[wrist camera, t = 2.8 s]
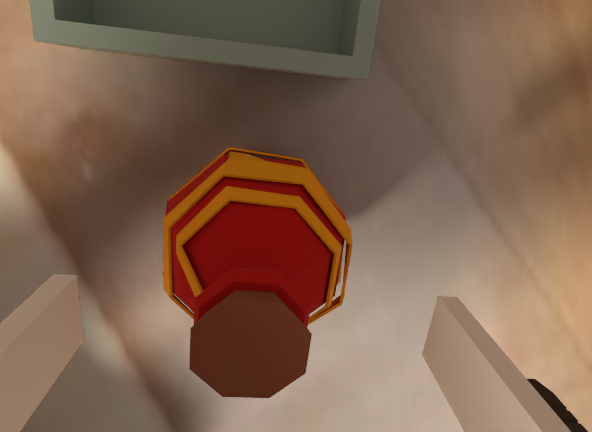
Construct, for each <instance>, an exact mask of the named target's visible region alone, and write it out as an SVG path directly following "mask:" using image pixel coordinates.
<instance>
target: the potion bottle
mask: <svg viewBox="0 0 592 432" xmlns="http://www.w3.org/2000/svg"><path fill="white" fill-rule="evenodd" d="M249 154H252V155H259V156H266V157H272V158H279V159H270V158H260V157H254V156H252V155H249ZM280 159H286V160H280ZM289 160H293V161H289ZM344 240H346V242H347V244H346V255H345V266H344V278H343V286H342V292H341V295H340V296H339V297H337V298H336V299H335V300H333V301H332V298H333V297H334V296H335V291H336V285H337V284H338V283H339V282H340V277H341V264H342V251H343V245H344ZM351 250H352V238H351V229H350V227H349V226H348V224H347V223H346V222H345V215H344V213H343V212H342V211H341V209H340V208H339V207H338V205H337V204H336V203H335V201H334V200H333V199H332V197H331V196H330V195H329V193H328V192H327V191H326V189H325V188H324V187H323V185H322V184H321V183H320V181H319V180H318V179H317V177H316V176H315V175H314V173H313V172H312V171H311V169H310V168H309V167H308V165H307V164H306V163H305V161H304V160H303V159H300V158H294V157H288V156H282V155H276V154H270V153H264V152H258V151H252V150H246V149H239V148H233V147H228V148H227V149H226V150H225V151H224V152H222V153H221V154H220V155H219V156H218V157H217V158H215V159H214V160H213V161H212V162H211V163H210V164H208V165H207V166H206V167H205V168H204V169H203V170H201V171H200V172H199V173H198V174H197V175H195V176H194V177H193V178H192V179H191V180H190V181H188V182H187V183H186V184H185V185H184V186H183V187H181V188H180V189H179V190H178V191H177V192H176V193H174V194H173V195H172V196H171V197H170V198H169V201H168V202H167V208H166V215H165V217H164V218H163V258H164V269H163V276H164V290H165V291H166V293H167V294H168V296H169V297H170V298H171V299H172V300H173V301H174V302H175V303H176V304H177V305H178V306H180V307H181V308H182V309H183V310H184V311H185V312H186V313H187V314H189V315H190V316H191V317H192V318H193V319H194V326H193V327H192V328H191V338H190V370H191V371H192V372H194V373H195V374H196V375H197V376H198V377H200V378H201V379H202V380H203V381H204V382H206V383H207V384H208V385H209V386H210V387H212V388H213V389H214V390H215V391H216V392H218V393H219V394H220V395H221V396H222V397H252V398H270V397H271V396H273V395H274V394H276V393H277V392H279V391H280V390H282V389H283V388H284V387H286V386H287V385H289V384H290V383H292V382H293V381H295V380H296V379H298V378H299V377H301V376H302V375H304V374H305V373H306V366H307V360H308V354H309V348H310V341H311V335H312V334H311V333H310V332H309V330H308V329H307V326H308V324H310V323H311V322H313V321H315V320H316V319H318V318H320V317H321V316H323V315H325V314H327V313H328V312H330V311H332V310H333V309H335V308H337V307H338V306H340V305H342V302H343V298H344V294H345V284H346V278H347V273H348V267H349V262H350V256H351ZM172 292H173V293H174V294H175V295H176V296H177V297H178V298H179V299H180V300H181V301H183V302H184V303H185V304H186V305H187V306H188V307H189V308H190V309H191V310H192V312H193V313H194V314H193V313H192V312H191V311H190V310H189V309H188V308H187V307H186V306H185V305H184V304H183V303H182V302H181V301H180V300H179V299H178V298H177V297H176V296H175V295H174V294H173V293H172ZM325 302H326V304H325V307H323V308H322V309H320V310H319V311H318V312H316V313H315V314H313V315H312V316H311V317H309V314H310V313H311V312H313V311H314V310H316V309H317V308H318V307H320V306H321V305H323V304H324V303H325Z"/></svg>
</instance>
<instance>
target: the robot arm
mask: <svg viewBox="0 0 592 432" xmlns="http://www.w3.org/2000/svg"><path fill="white" fill-rule="evenodd" d="M83 341H84V336H83V327H82V318H81V308H80V299H79V290H78V280H77V275H63V274H53V275H52V276H51V277H50V278H49V279H48V280H47V281H45V282H44V283H43V284H42V285H41V286H40V287H39V288H38V289H37V290H36V291H35V292H34V293H32V294H31V295H30V296H29V297H28V298H27V299H26V300H25V301H24V302H23V303H22V304H20V305H19V306H18V307H17V308H16V309H15V310H14V311H13V312H12V313H11V314H10V315H9V316H7V317H6V318H5V319H4V320H3V321H2V322H1V323H0V432H20V431H21V430H22V428H23V427H24V426H25V424H26V423H27V421H28V420H29V418H30V417H31V416H32V414H33V413H34V411H35V410H36V408H37V407H38V405H39V404H40V403H41V401H42V400H43V398H44V397H45V395H46V394H47V393H48V391H49V390H50V388H51V387H52V385H53V384H54V383H55V381H56V380H57V378H58V377H59V375H60V374H61V373H62V371H63V370H64V368H65V367H66V365H67V364H68V363H69V361H70V360H71V358H72V357H73V355H74V354H75V353H76V351H77V350H78V348H79V347H80V345H81V344H82V343H83ZM422 355H423V357H424V359H425V361H426V362H427V364H428V366H429V368H430V370H431V371H432V373H433V375H434V377H435V379H436V381H437V382H438V384H439V386H440V388H441V390H442V392H443V393H444V395H445V397H446V399H447V401H448V402H449V404H450V406H451V408H452V410H453V412H454V413H455V415H456V417H457V419H458V421H459V423H460V424H461V426H462V428H463V430H464V432H588V431H587V430H586V429H585V428H584V427H583V426H582V425H581V424H579V423H578V420H577V419H576V418H575V417H574V416H573V415H572V413H571V412H570V411H567V409H566V407H565V406H564V405H563V403H562V402H561V401H560V400H559V399H558V398H557V397H556V396H555V394H554V393H553V392H551V391H550V390H549V389H547V388H546V387H545V386H543V385H542V384H541V383H539V382H538V381H537V380H535V379H526V378H525V377H524V375H523V374H522V373H521V372H520V371H519V370H518V368H517V367H516V366H515V365H514V364H513V362H512V361H511V360H510V359H509V358H508V357H507V355H506V354H505V353H504V352H503V351H502V349H501V348H500V347H499V346H498V345H497V344H496V342H495V341H494V340H493V339H492V338H491V337H490V335H489V334H488V333H487V332H486V331H485V329H484V328H483V327H482V326H481V325H480V324H479V322H478V321H477V320H476V319H475V318H474V316H473V315H472V314H471V313H470V312H469V311H468V309H467V308H466V307H465V306H464V305H463V303H462V302H461V301H460V300H459V299H458V298H457V297H445V296H438V298H437V302H436V306H435V309H434V313H433V317H432V320H431V324H430V328H429V331H428V335H427V339H426V342H425V346H424V349H423V353H422Z"/></svg>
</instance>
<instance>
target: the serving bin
mask: <svg viewBox="0 0 592 432" xmlns="http://www.w3.org/2000/svg"><path fill="white" fill-rule="evenodd" d="M380 6H381V0H30V9H31V17H32V26H33V34H34V41H38V42H44V43H50V44H56V45H63V46H69V47H75V48H81V49H88V50H97V51H106V52H114V53H123V54H132V55H140V56H149V57H158V58H166V59H175V60H184V61H192V62H201V63H210V64H218V65H227V66H236V67H244V68H253V69H262V70H270V71H279V72H288V73H296V74H305V75H314V76H323V77H331V78H340V79H353V80H369V75H370V68H371V62H372V56H373V50H374V43H375V37H376V31H377V25H378V19H379V12H380Z"/></svg>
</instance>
